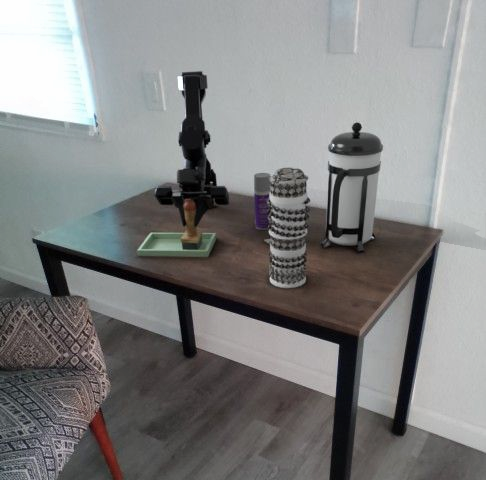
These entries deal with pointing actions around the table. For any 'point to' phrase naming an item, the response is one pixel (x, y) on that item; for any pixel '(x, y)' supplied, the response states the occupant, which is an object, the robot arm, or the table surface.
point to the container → (261, 200)
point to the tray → (174, 245)
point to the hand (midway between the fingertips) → (189, 226)
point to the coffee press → (352, 188)
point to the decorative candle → (288, 227)
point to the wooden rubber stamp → (191, 228)
